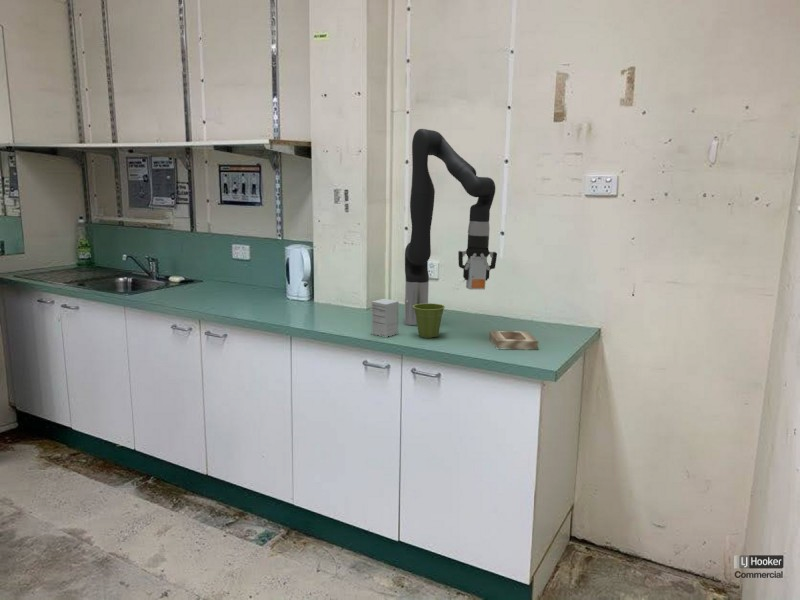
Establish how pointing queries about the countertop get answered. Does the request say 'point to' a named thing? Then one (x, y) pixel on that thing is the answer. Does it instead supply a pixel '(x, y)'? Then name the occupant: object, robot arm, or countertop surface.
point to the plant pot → (428, 319)
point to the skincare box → (476, 273)
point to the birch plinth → (513, 339)
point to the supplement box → (385, 317)
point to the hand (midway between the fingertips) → (476, 279)
